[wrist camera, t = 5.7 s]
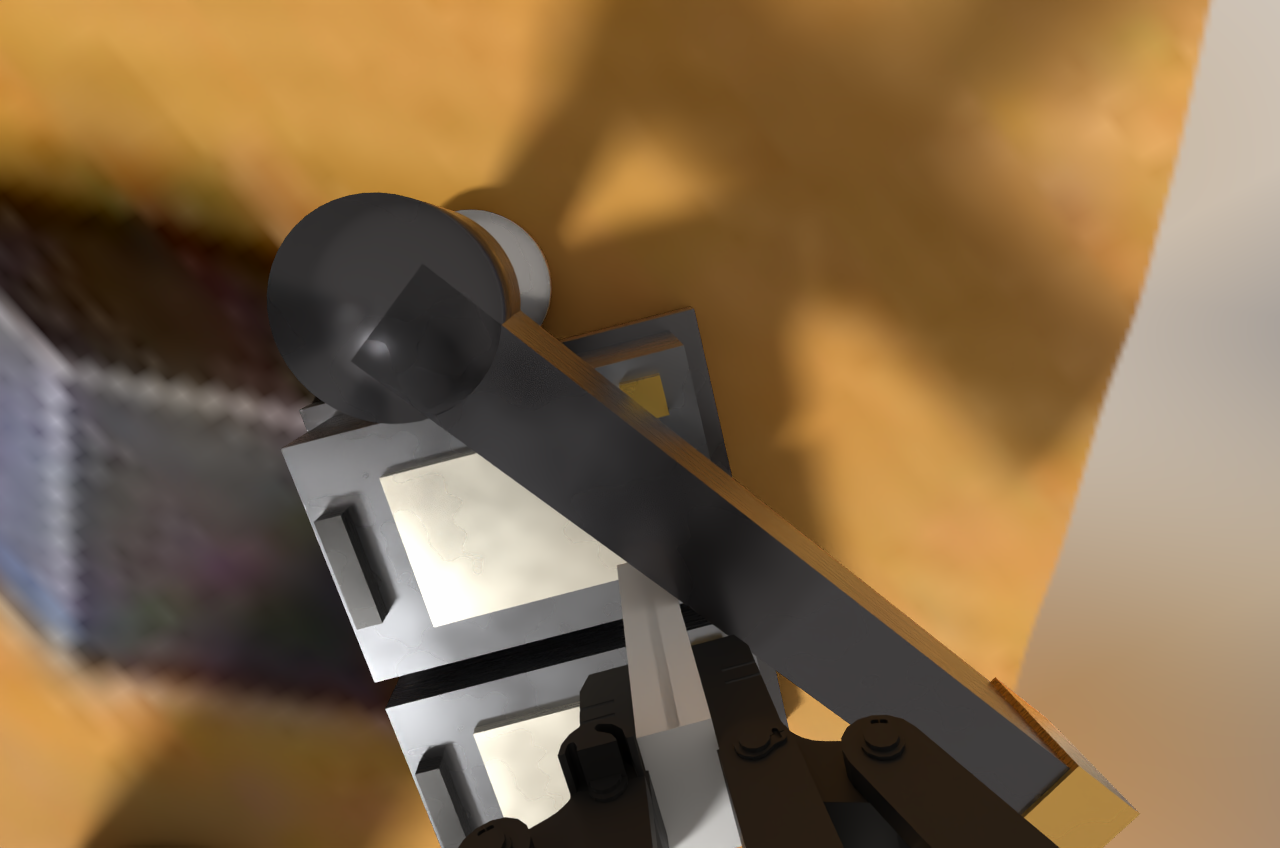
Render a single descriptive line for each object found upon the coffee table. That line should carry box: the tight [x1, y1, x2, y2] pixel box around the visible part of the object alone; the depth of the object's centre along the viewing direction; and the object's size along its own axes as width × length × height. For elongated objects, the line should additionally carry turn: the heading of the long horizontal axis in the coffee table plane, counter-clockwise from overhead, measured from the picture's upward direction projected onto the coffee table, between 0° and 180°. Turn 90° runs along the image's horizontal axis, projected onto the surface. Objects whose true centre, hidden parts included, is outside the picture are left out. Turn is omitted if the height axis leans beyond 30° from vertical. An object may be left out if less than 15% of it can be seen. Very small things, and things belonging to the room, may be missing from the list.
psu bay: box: [281, 307, 789, 848], centre depth 24 cm, size 14×18×6 cm
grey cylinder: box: [455, 210, 552, 326], centre depth 20 cm, size 5×5×7 cm
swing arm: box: [267, 193, 1140, 848], centre depth 17 cm, size 24×4×4 cm, turn 50°
